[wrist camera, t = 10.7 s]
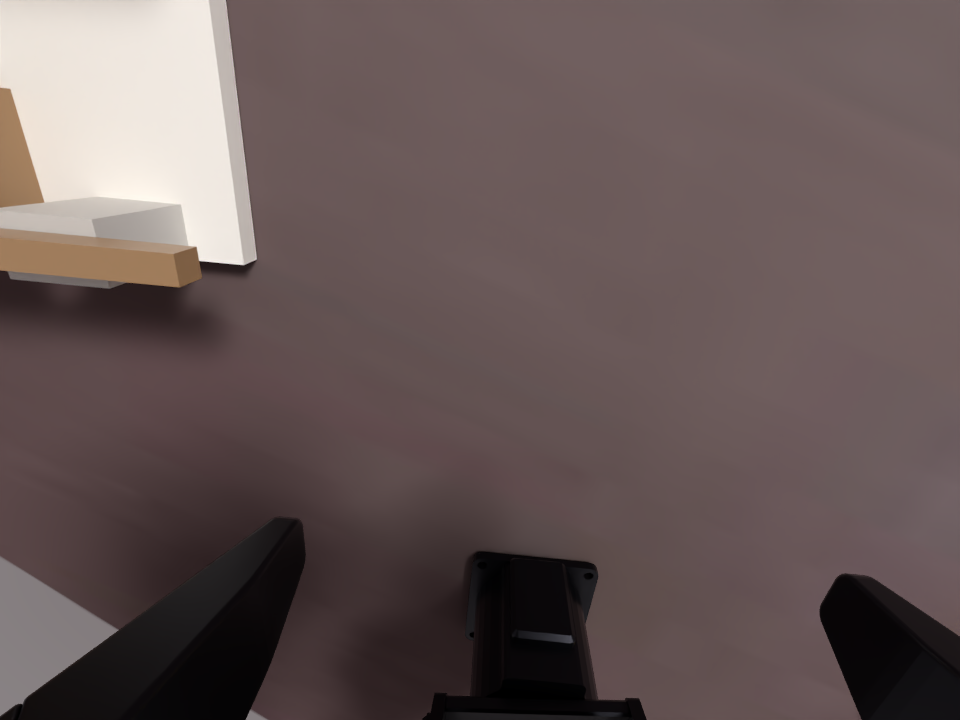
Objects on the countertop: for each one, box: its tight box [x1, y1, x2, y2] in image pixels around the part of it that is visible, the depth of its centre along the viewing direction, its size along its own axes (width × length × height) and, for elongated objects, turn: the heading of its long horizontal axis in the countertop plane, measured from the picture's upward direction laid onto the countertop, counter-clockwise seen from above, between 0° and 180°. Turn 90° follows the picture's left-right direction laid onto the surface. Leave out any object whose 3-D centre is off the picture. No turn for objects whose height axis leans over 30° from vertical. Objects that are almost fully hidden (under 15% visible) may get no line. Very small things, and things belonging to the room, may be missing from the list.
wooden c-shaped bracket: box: [0, 88, 202, 287], centre depth 12 cm, size 10×12×5 cm
